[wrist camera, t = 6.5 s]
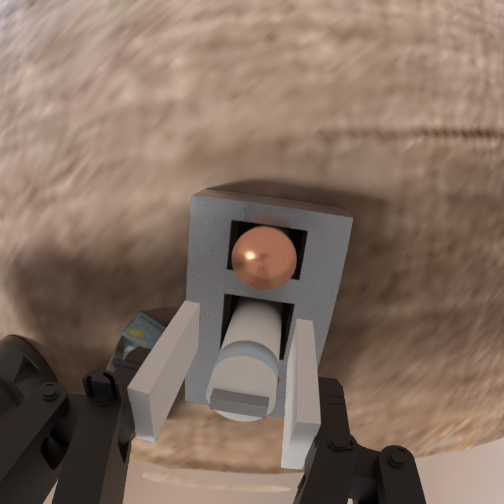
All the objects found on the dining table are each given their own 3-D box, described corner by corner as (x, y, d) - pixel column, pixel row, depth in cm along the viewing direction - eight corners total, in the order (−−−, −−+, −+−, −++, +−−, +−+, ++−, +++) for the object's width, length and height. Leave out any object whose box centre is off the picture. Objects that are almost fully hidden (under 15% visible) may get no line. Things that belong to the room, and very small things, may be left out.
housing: (195, 375, 40) (185, 400, 35) (206, 188, 32) (191, 195, 28) (301, 392, 39) (301, 419, 34) (344, 207, 31) (353, 218, 27)
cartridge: (235, 321, 37) (201, 423, 21) (239, 281, 35) (203, 375, 20) (279, 328, 36) (269, 435, 21) (286, 288, 35) (281, 388, 19)
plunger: (240, 258, 33) (228, 284, 27) (246, 208, 32) (234, 224, 25) (291, 265, 33) (291, 294, 27) (299, 216, 31) (301, 233, 25)
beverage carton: (195, 342, 38) (179, 374, 32) (145, 417, 45) (130, 445, 38) (141, 307, 38) (117, 335, 32) (103, 390, 44) (84, 416, 38)
